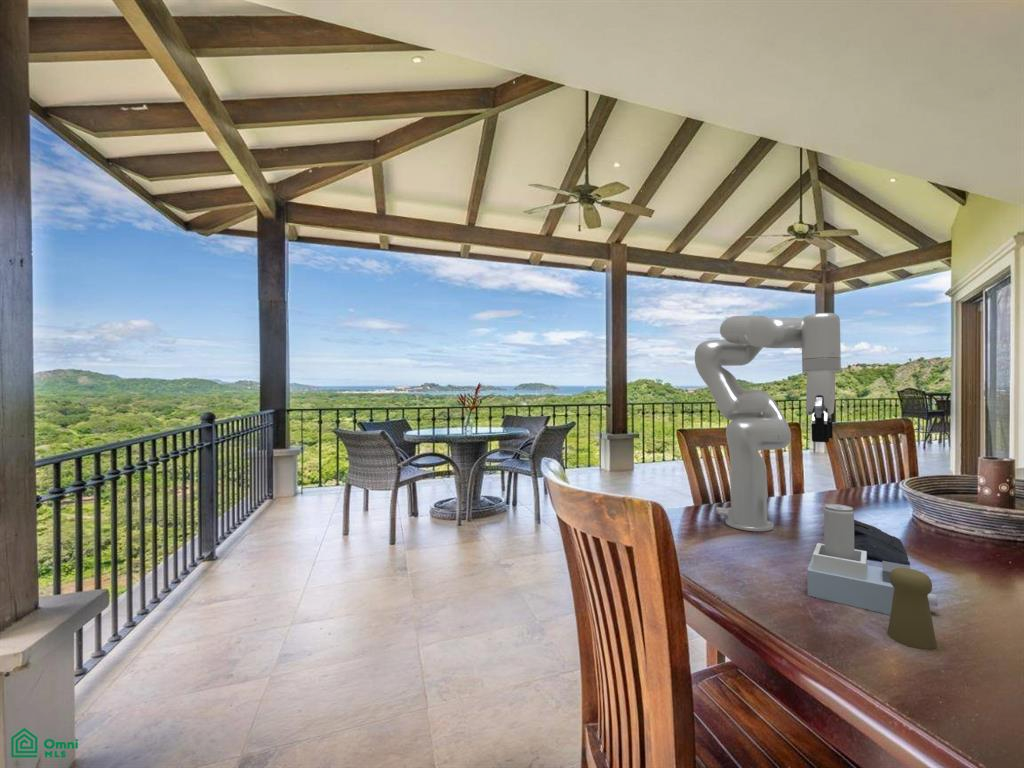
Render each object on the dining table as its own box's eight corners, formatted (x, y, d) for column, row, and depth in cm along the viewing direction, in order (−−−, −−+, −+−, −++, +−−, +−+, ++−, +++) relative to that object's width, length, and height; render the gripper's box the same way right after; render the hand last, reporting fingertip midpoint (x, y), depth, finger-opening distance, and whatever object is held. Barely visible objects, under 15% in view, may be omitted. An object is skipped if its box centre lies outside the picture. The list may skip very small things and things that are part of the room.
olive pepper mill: (877, 630, 77) (876, 564, 77) (911, 628, 77) (909, 562, 78) (912, 650, 71) (910, 579, 71) (948, 648, 71) (946, 577, 71)
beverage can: (849, 564, 92) (848, 504, 92) (859, 573, 88) (858, 510, 88) (821, 562, 94) (820, 503, 94) (829, 570, 89) (828, 508, 89)
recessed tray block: (807, 595, 90) (806, 554, 90) (813, 578, 98) (812, 541, 98) (940, 626, 78) (939, 578, 78) (934, 604, 86) (933, 561, 86)
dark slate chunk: (831, 556, 112) (831, 536, 112) (830, 532, 130) (830, 515, 130) (914, 569, 103) (914, 548, 103) (901, 542, 121) (901, 524, 121)
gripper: (806, 368, 117) (807, 435, 116) (797, 366, 103) (798, 442, 103) (843, 367, 112) (844, 437, 112) (838, 364, 98) (839, 444, 98)
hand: (822, 439), depth 107 cm, fingers open, 9 cm apart
